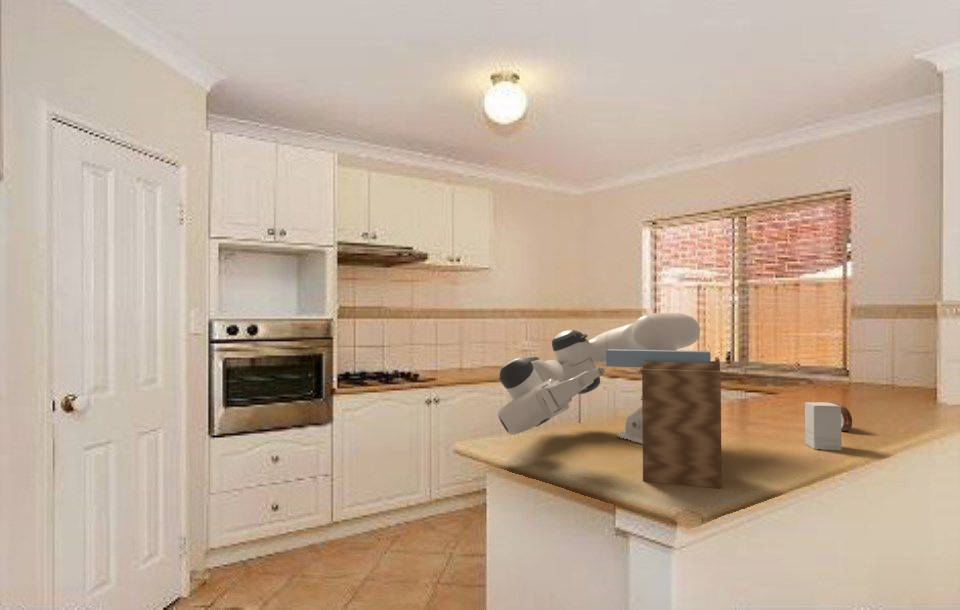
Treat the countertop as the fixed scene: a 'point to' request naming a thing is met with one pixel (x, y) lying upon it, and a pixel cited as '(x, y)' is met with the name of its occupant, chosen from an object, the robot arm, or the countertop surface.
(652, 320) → the robot arm
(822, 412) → the supplement box
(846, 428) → the brown curved piece
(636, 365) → the bar
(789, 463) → the countertop surface
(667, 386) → the stand
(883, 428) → the countertop surface
